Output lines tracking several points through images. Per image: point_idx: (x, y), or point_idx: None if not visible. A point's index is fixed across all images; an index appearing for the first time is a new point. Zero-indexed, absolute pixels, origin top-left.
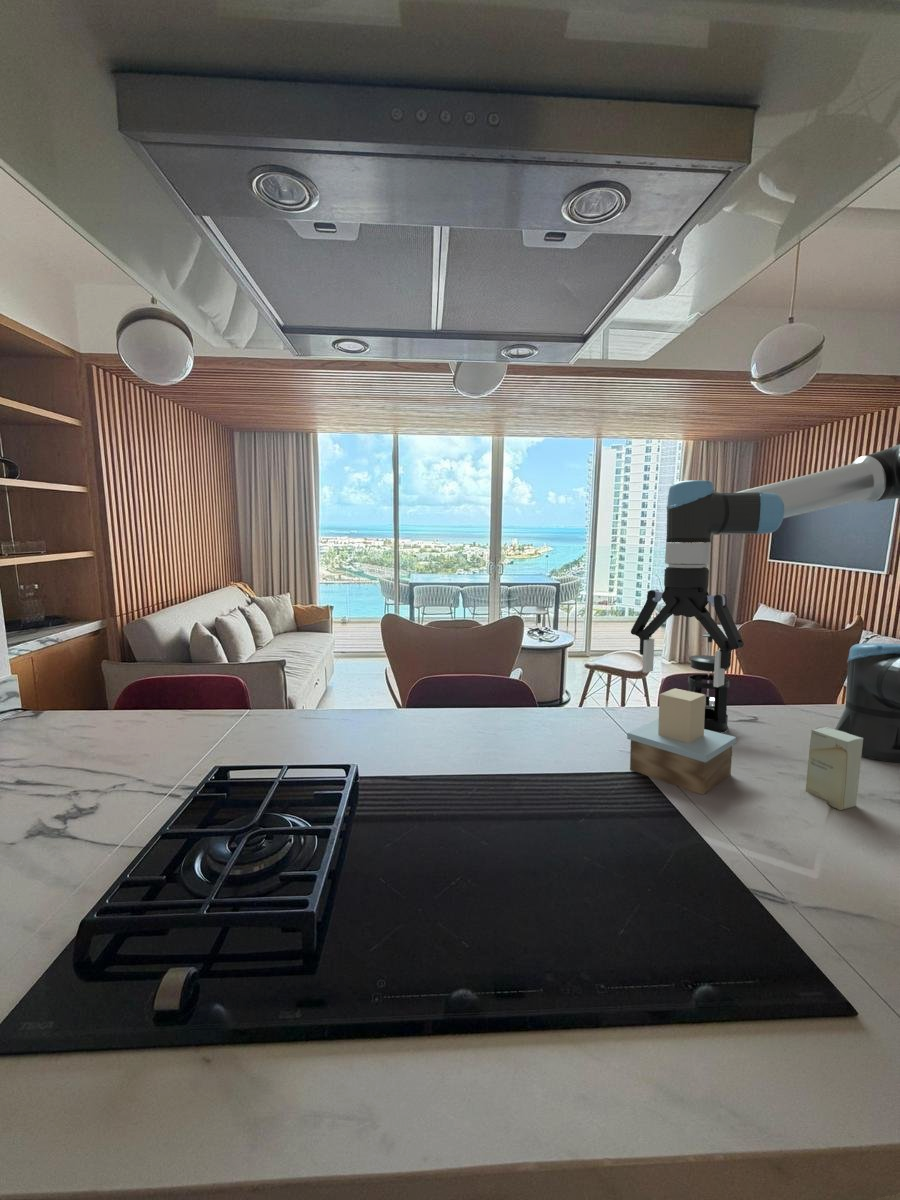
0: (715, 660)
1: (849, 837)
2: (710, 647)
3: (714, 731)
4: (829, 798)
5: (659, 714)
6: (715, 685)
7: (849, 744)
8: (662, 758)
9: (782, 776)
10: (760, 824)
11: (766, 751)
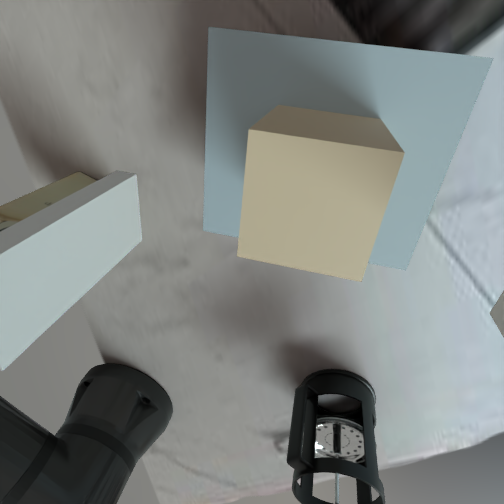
0: (26, 233)
1: (34, 76)
2: None
3: (316, 374)
4: (87, 182)
5: (387, 132)
6: (122, 173)
7: None
8: None
9: (177, 250)
10: (130, 7)
11: (226, 334)
